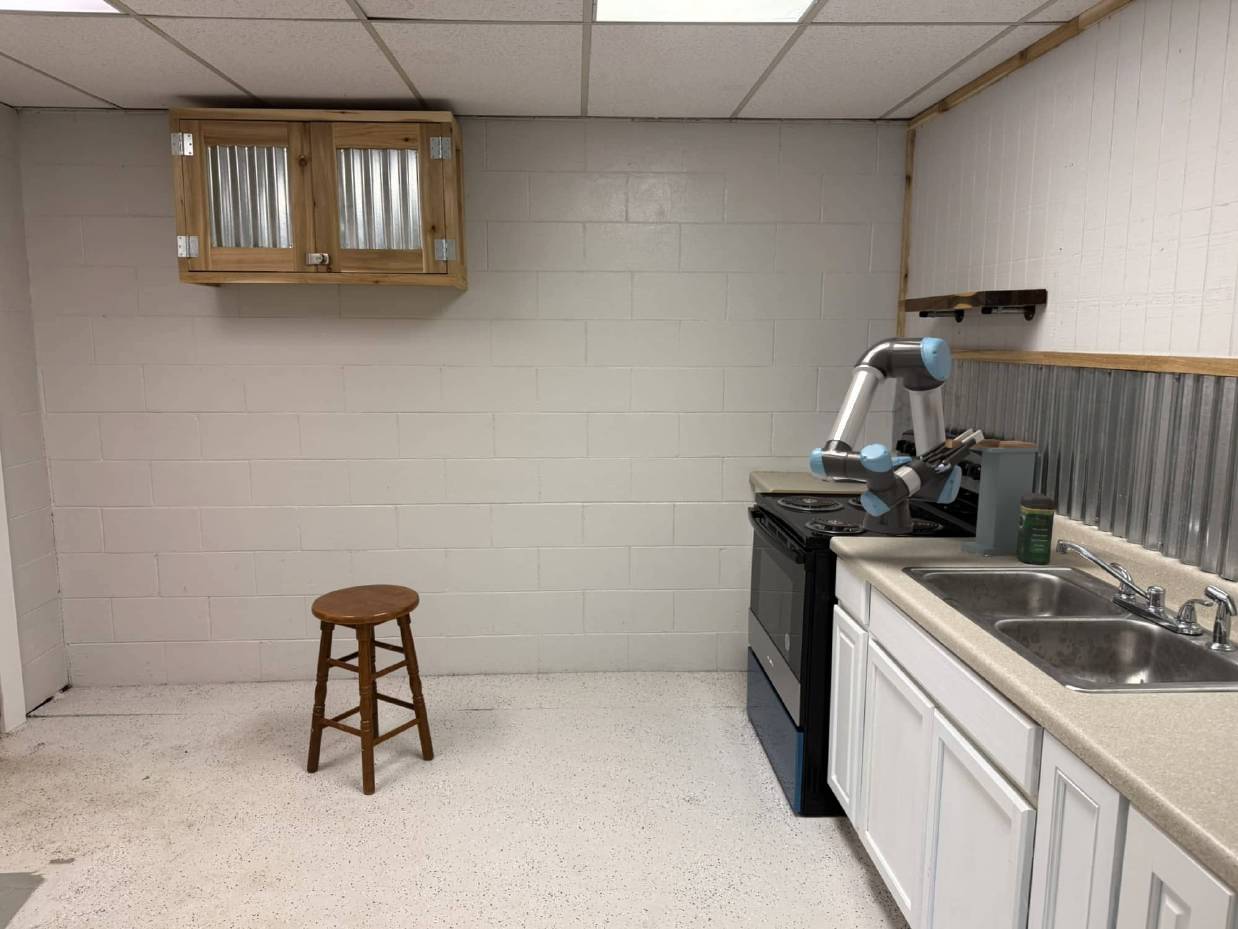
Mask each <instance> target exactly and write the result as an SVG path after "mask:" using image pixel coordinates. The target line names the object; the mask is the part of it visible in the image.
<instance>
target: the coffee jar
mask: <svg viewBox="0 0 1238 929" xmlns="http://www.w3.org/2000/svg"><path fill="white" fill-rule="evenodd" d="M1055 504H1056V500H1054V499H1053V498H1051V497H1049V496H1046V495H1045V494H1043V493H1042V492H1041V493H1039V492H1038V493H1037V492H1032V493H1027V494H1025V495H1023V496H1022V498H1021V505H1020V522H1019V532H1018V542H1017V551H1016V554H1015V556H1016V558H1017V559H1018V560H1019V561H1021V562H1023V563H1029V564H1032V565H1041V564H1042V565H1043V564H1045V565H1046V564H1049V563H1050V561H1051V552H1052V541H1053V540H1052V539H1053V530H1054V528H1053V527H1054V519H1055V517H1054V516H1055V507H1056V505H1055Z"/></svg>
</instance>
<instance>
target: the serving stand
mask: <svg viewBox="0 0 1238 929" xmlns="http://www.w3.org/2000/svg"><path fill="white" fill-rule="evenodd" d="M969 450H974V451H981V452H982V453H981V464H980V465H981V466H980V467H981V468H980V476H979V477H980V480H979V491H978V493H979V494H978V506H977V516H976V518H977V519H976V532H975V541H963V542H961V544H960V550H962V549H963V550H962V551H965V550H966V551H965V552H968V551H970V552H969V553H972V554H974V553H977V554H979V555H978V556H980V555H982V556H981V557H986V556H985V555H999V556H1012V555H1014V554H1015V555H1016V551H1017V542H1018V532H1019V522H1020V505H1021V498H1022V496H1023V495H1025V494H1027V493H1033V485H1034V474H1035V473H1034V472H1035V461H1036V452H1037V453H1038V452H1039V450H1040V448H1039V447H1037V448H999V447H994V448H970V449H969ZM977 554H976V555H977Z"/></svg>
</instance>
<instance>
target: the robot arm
mask: <svg viewBox="0 0 1238 929" xmlns="http://www.w3.org/2000/svg"><path fill="white" fill-rule="evenodd" d="M952 362H953V360H952V352H951V349H950V347H949V345H948V344H947V342H946V341H945V340H944V339H942V338H940V337H939V338H938V337H937V338H936V337H929V336H926V337H896V336H895V337H887V338H884V339H881V340H879V341H877V342H875V343H874V344H871V346H870V347H868V348H867V349H866V350H865V351H864V352H863V353H862V354H861V355H860V357H859V358H858V359H857V361H856V363H855V364H854V366H853V368H852V371H851V378H852V380H851V383H850V385H849V388H848V390H847V393H846V395H845V398H844V399H843V402H842V404H841V407H840V409H839V412H838V415H837V416H836V418H835V422H834V423H833V426H832V428H831V431H830V433H829V435H828V438H827V441H826V443H825V444H824V447H816V448H814V449H813V450H812V452H811V453H810V456H809V468H810V470H811V473H812V474H814V475H816V476H820V477H821V476H822V477H826V478H830V477H831V478H839V479H847V480H848V479H850V480H857V481H859V480H860V481H865V484H866V488H867V490H864V492H862V493H861V494H860V503H861V506H862V507H863V509H864V510H865V511H866V513H865V515H864V519H863V522H862V528H863V529H864V530H865V531H866V530H867V531H870V532H874V533H875V532H876V533H881V534H892V535H895V534H896V535H899V534H902V535H903V534H904V535H905V534H910V533H912V532H913V529H914V528H913V527H914V523H913V520H912V516H911V511H910V508H909V503H910V502H909V501H910V500H913V501H922V502H929V503H930V502H932V503H937V504H951V503H952V502H954V501H955V499H956V497H957V496H958V493H959V490H960V486H961V482H962V467H961V466H958V465H957V464H959V463H960V462H961V461H963V460H964V459H965V458H967V457H969V455H971V452H972V451H971V449H970V448H971V447H973V446H974V445H976V444H977V443H979V442H980V441H982V440H983V439H985V437H984V434H983V431H982V430H981V429H978V430H977V431H975V432H974V430H973V428H969V429H968V430H966V431H965V432H963V433H962V434H960V435H958V437H956V438H954V439H953V440H963V441H962V442H961V443H962V444H960V445H958V446H957V447H955V448H948V447H945V440H952V439H951V438H948V439H946V430H945V419H944V410H943V408H944V407H943V399H942V398H943V397H942V391H941V390H942V387H943V386H944V385H945V383H946V380H948V378H949V377H950V375H951V373H952ZM888 379H901V380H902V381H901V382H902V387H903V388H904V389H905V390H906V391H908V393H909V401H910V409H911V410H910V411H911V418H912V426H913V427H912V428H913V434H914V435H913V436H914V444H915V450H916V457H914V459H912V457H910V456H891V452H890V449H889V448H888V447H887V446H885V445H884V444H881V443H874V444H869V445H866V446H864V447H863V448H862V450H860V451H858V450H857V451H856V450H854V449H855V446H856V444H857V441H858V439H859V436H860V435H861V432H862V429H863V426H864V424H865V422H866V419H867V417H868V414H869V412H870V410H871V407H872V404H873V402H874V399H875V397H876V395H877V393H878V390H879V389H880V388H881V387H883V386H884V384H885V382H886V380H888Z"/></svg>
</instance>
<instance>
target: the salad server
mask: <svg viewBox="0 0 1238 929" xmlns="http://www.w3.org/2000/svg"><path fill="white" fill-rule="evenodd" d="M962 441H963V440H954V439H951V440H947V439H946V440H945V447H948V448H955V447H957V446H958V445H960V444H962V443H961V442H962ZM1037 446H1038V443H1037V442H1036V443H1034V442H1029V441H1027V442H1026V441H1020V440H1001V439H994V438H992V439H985V438H984V439H983V440H982V441H980V442H979V443H977V444H976V445H974V446H973V447H971V448H994V447H999V448H1038V447H1037Z"/></svg>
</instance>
